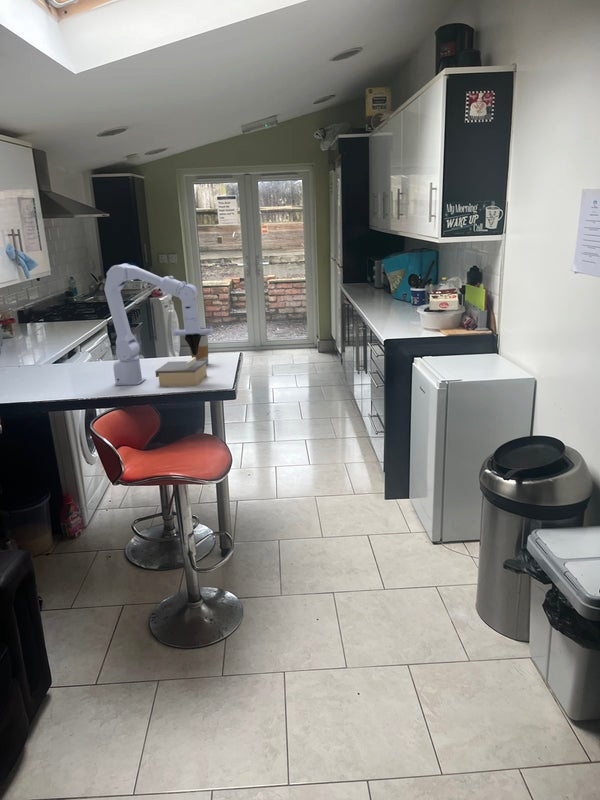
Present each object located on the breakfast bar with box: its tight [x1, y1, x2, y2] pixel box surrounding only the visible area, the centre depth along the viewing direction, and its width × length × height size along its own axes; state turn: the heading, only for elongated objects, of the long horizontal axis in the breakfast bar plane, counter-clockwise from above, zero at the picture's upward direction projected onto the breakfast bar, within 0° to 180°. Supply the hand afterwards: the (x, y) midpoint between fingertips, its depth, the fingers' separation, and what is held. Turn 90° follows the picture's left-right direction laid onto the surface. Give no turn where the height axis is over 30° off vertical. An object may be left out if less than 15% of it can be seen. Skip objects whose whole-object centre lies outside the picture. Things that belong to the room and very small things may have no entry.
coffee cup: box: [189, 327, 209, 366], centre depth 252 cm, size 8×8×15 cm
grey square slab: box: [155, 357, 206, 378], centre depth 228 cm, size 15×15×4 cm
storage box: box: [158, 363, 208, 387], centre depth 228 cm, size 14×14×5 cm
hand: (195, 354), depth 226 cm, fingers closed
